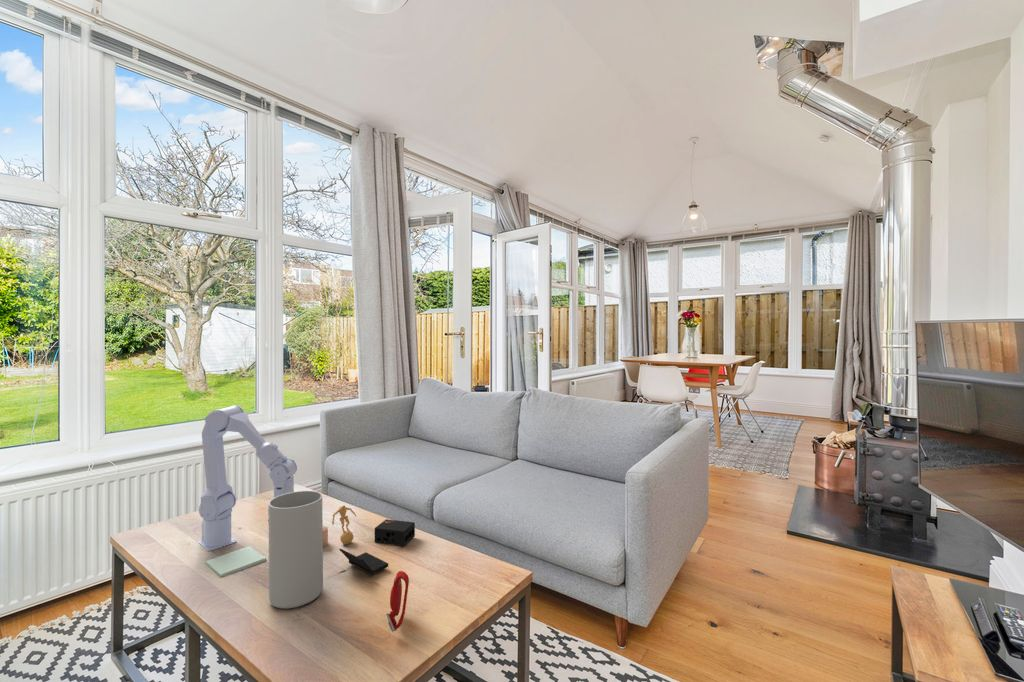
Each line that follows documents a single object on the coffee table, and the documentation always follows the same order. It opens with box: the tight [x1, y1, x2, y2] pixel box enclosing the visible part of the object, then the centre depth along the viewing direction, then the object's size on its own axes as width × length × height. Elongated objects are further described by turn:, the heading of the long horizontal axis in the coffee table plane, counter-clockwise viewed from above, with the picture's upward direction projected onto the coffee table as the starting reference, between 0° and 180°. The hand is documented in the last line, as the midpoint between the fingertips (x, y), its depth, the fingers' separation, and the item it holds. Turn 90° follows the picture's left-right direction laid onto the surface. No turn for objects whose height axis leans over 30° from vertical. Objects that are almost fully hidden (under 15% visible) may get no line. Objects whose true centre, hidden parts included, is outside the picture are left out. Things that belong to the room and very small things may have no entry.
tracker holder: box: [386, 570, 410, 633], centre depth 105 cm, size 12×4×10 cm, turn 5°
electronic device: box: [374, 518, 416, 547], centre depth 146 cm, size 7×11×5 cm
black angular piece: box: [338, 548, 389, 576], centre depth 128 cm, size 12×7×10 cm
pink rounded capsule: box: [323, 526, 329, 548], centre depth 142 cm, size 5×5×5 cm
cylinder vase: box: [267, 490, 324, 610], centre depth 115 cm, size 12×12×25 cm
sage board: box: [204, 545, 267, 578], centre depth 131 cm, size 12×12×1 cm
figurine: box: [331, 505, 357, 545], centre depth 144 cm, size 8×6×12 cm
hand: (284, 540), depth 142 cm, fingers closed on walnut block, 4 cm apart
